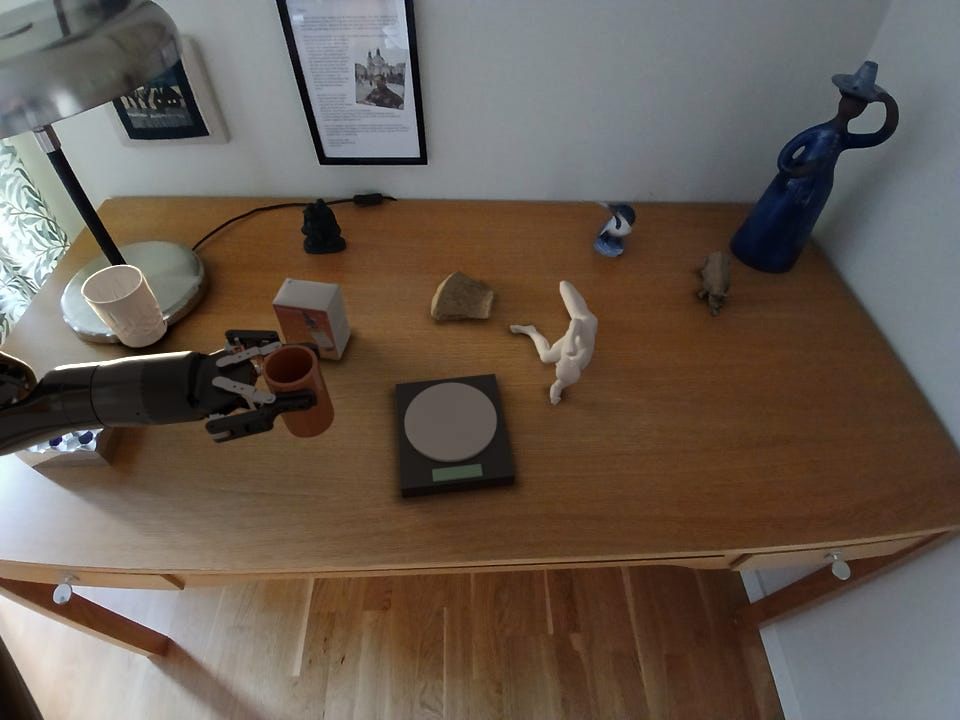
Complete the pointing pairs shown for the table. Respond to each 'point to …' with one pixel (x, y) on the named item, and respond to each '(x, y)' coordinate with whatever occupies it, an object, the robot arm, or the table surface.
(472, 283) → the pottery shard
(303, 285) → the small box
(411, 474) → the scale
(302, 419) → the cup
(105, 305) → the white cup
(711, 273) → the rhino figurine
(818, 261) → the table surface
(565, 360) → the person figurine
